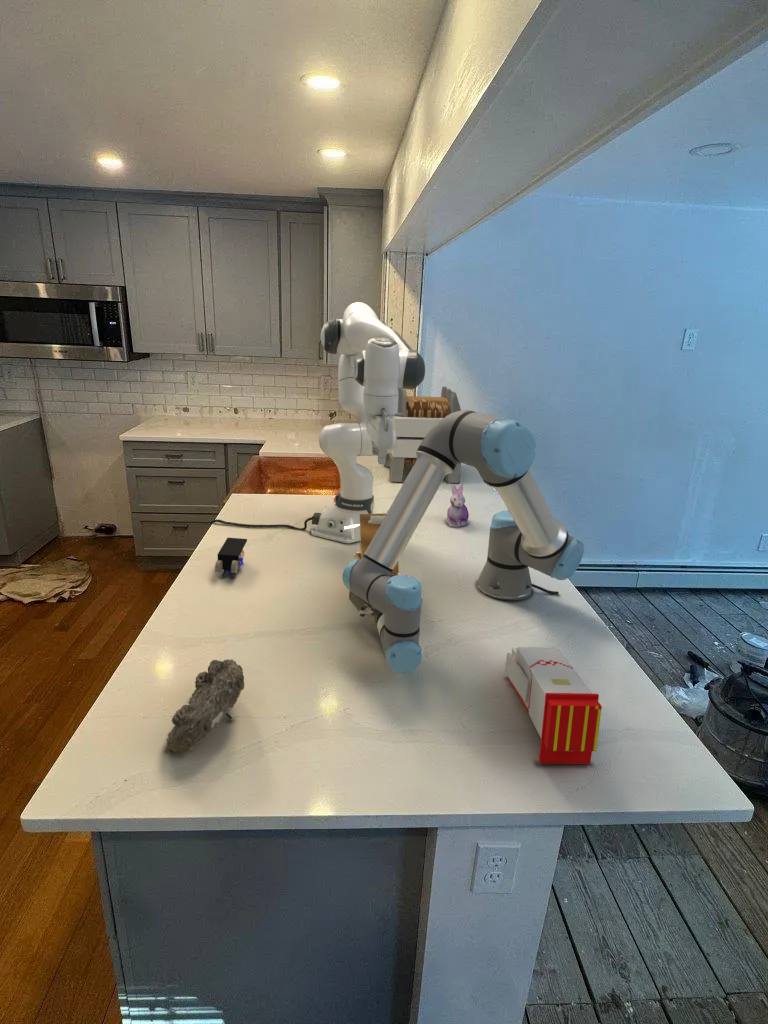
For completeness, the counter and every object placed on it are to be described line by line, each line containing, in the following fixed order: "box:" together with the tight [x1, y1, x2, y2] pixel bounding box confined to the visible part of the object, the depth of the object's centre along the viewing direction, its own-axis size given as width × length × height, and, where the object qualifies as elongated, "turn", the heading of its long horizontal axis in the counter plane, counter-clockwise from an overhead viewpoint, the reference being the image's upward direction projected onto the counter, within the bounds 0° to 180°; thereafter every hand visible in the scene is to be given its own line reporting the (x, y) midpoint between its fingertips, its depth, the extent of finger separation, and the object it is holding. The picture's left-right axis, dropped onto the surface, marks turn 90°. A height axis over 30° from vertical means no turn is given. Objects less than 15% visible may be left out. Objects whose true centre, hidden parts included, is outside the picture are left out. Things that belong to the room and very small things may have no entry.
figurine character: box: [214, 537, 248, 578], centre depth 166 cm, size 7×8×15 cm
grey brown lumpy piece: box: [166, 658, 245, 754], centre depth 106 cm, size 22×10×15 cm
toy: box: [504, 646, 603, 765], centre depth 112 cm, size 12×13×30 cm
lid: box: [359, 513, 400, 574], centre depth 144 cm, size 16×10×9 cm
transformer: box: [383, 386, 462, 484], centre depth 268 cm, size 34×33×41 cm
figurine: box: [446, 483, 470, 528], centre depth 210 cm, size 9×10×15 cm
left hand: (378, 459), depth 147 cm, fingers open, 8 cm apart
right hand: (377, 579), depth 152 cm, fingers closed on chest, 10 cm apart
